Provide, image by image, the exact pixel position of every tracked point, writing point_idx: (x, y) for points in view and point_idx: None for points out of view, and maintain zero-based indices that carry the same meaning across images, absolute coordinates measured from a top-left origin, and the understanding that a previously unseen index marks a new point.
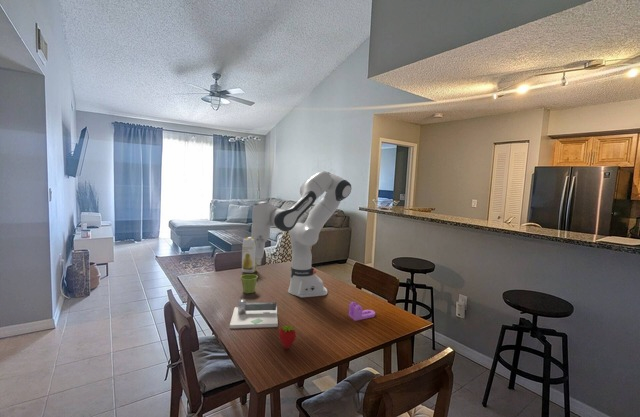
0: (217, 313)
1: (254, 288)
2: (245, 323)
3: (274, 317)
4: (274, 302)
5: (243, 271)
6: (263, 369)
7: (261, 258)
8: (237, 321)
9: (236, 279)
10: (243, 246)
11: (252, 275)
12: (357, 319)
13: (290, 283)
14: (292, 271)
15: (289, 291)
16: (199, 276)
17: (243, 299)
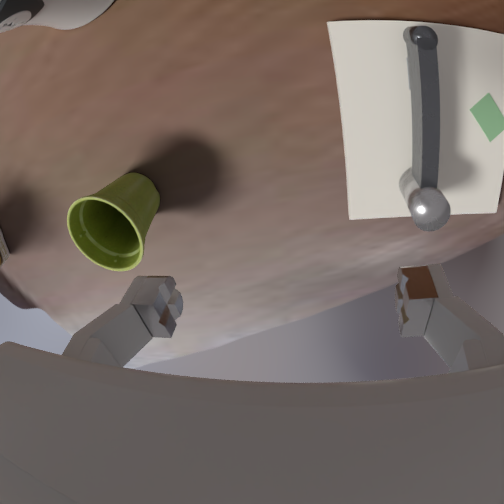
0: (374, 262)
1: (129, 179)
2: (498, 161)
3: (460, 39)
4: (417, 35)
5: (8, 253)
6: None
7: (502, 336)
8: (479, 191)
9: (59, 260)
10: None
11: (73, 224)
12: None
13: (63, 12)
14: (17, 2)
15: (100, 9)
16: None
17: (418, 210)
